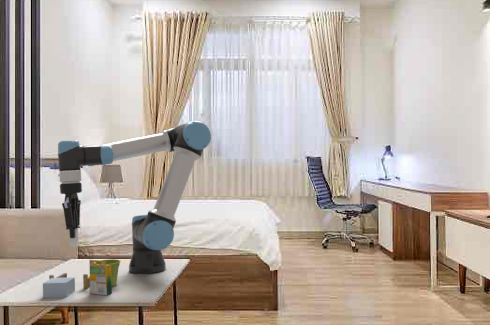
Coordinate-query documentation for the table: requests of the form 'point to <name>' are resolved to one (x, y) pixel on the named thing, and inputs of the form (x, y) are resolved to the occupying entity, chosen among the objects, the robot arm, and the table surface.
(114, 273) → the plant pot
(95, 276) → the crayon box
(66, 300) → the table surface
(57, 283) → the block
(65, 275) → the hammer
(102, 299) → the table surface
